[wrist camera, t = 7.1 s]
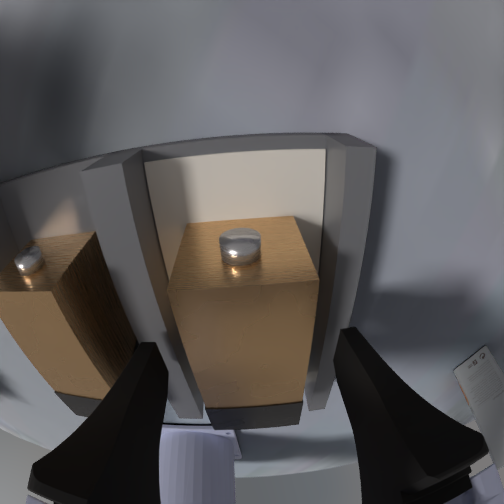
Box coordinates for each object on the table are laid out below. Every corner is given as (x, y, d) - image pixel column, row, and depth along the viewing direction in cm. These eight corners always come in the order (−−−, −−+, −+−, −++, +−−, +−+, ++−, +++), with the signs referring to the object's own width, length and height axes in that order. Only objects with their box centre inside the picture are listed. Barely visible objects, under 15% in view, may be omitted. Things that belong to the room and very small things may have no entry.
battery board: (316, 376, 18) (324, 408, 16) (89, 379, 17) (80, 407, 15) (346, 133, 10) (376, 147, 8) (-7, 186, 10) (-39, 208, 7)
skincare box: (451, 370, 20) (496, 471, 10) (485, 343, 19) (537, 439, 9) (458, 385, 23) (494, 469, 13) (487, 363, 22) (528, 444, 11)
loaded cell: (151, 366, 15) (139, 425, 12) (94, 363, 15) (76, 415, 12) (92, 217, 10) (43, 276, 7) (26, 228, 10) (-23, 279, 7)
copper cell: (287, 362, 16) (298, 425, 12) (215, 368, 15) (214, 430, 12) (294, 200, 10) (324, 261, 7) (183, 208, 10) (159, 273, 7)
